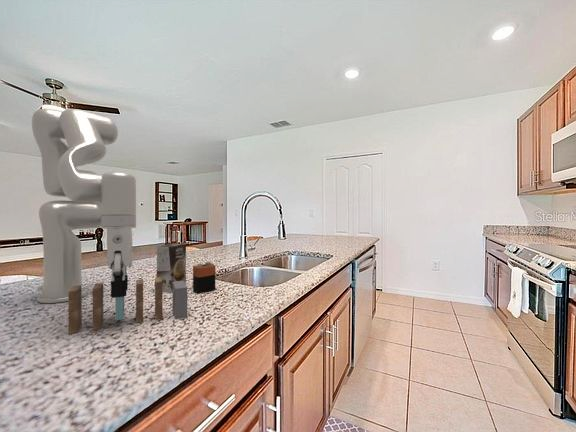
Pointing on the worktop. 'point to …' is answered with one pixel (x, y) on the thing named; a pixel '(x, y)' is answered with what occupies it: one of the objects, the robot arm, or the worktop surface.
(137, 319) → the domino
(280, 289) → the worktop surface
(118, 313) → the domino
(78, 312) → the domino
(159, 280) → the domino
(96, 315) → the domino
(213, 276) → the battery
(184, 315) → the block
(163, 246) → the coffee box
